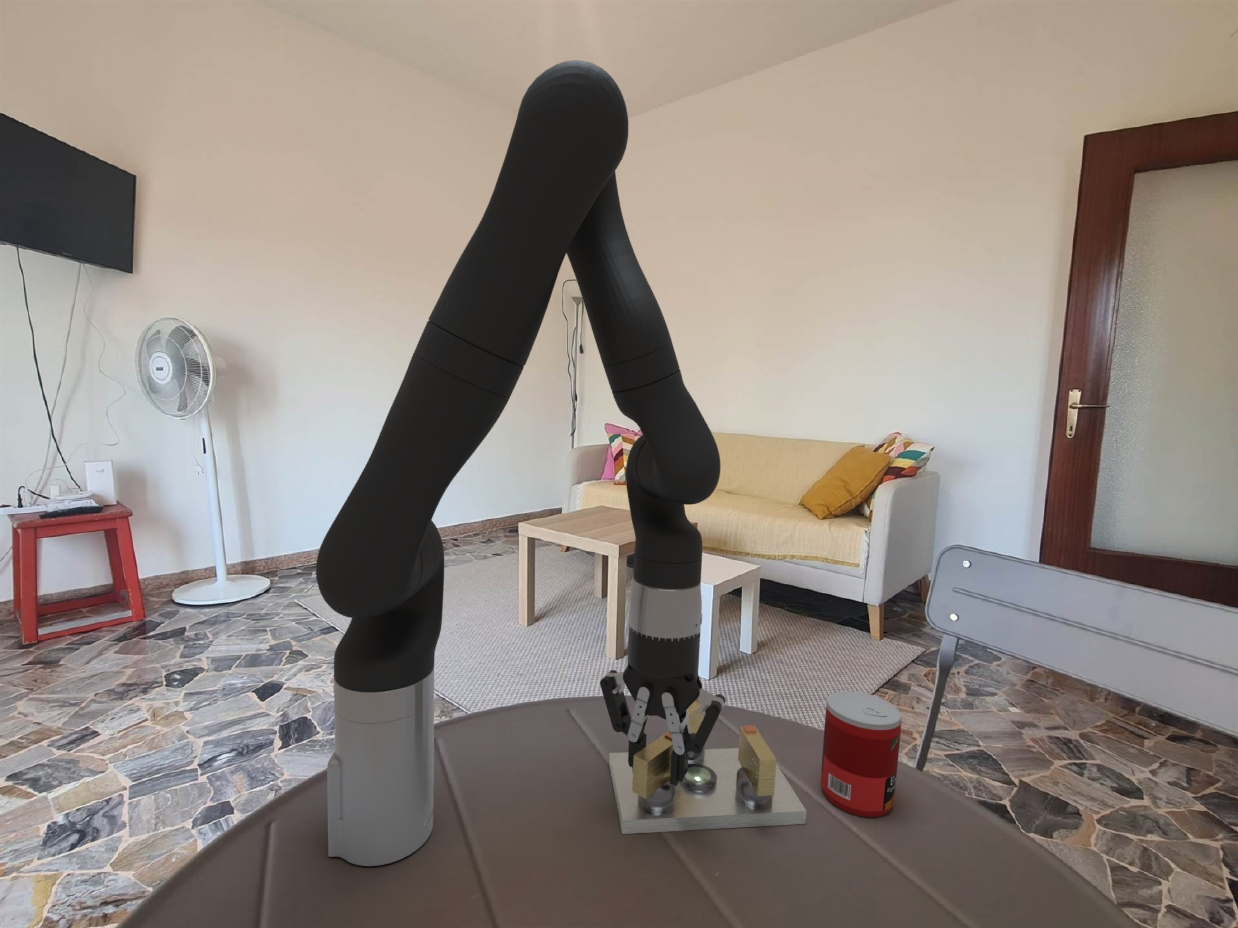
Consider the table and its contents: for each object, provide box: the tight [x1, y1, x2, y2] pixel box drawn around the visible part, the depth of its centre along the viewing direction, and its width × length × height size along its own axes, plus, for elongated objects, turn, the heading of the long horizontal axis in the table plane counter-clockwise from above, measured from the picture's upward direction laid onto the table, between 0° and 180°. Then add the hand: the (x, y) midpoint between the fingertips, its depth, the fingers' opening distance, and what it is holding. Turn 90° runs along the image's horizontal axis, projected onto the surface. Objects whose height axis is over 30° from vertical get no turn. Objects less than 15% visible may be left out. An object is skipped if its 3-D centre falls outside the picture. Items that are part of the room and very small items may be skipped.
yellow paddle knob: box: [688, 699, 706, 764], centre depth 73 cm, size 6×4×7 cm, turn 142°
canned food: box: [820, 690, 902, 818], centre depth 69 cm, size 8×8×11 cm
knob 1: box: [632, 731, 676, 815], centre depth 65 cm, size 6×4×7 cm, turn 140°
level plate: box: [608, 747, 807, 835], centre depth 69 cm, size 20×12×2 cm, turn 97°
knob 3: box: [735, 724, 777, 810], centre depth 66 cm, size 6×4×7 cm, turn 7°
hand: (657, 774), depth 65 cm, fingers open, 3 cm apart
